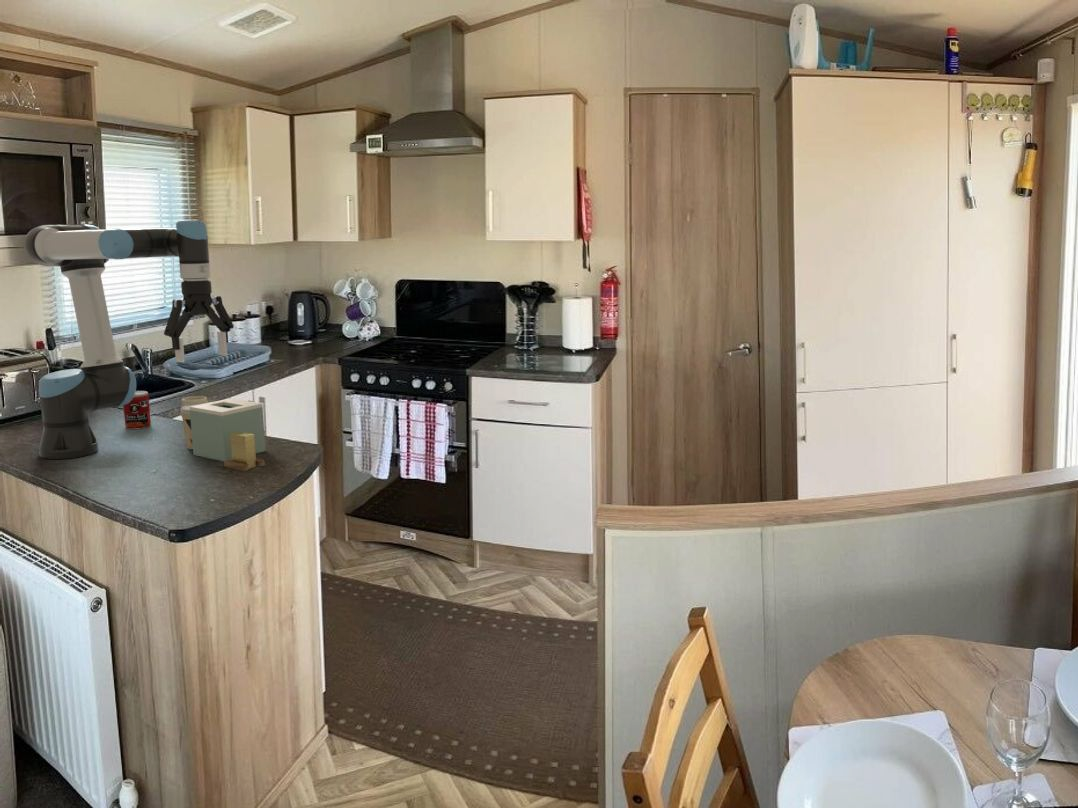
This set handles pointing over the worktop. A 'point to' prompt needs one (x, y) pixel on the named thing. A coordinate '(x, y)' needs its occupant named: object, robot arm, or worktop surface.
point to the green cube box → (225, 426)
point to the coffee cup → (187, 425)
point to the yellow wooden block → (243, 448)
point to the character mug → (193, 401)
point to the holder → (242, 464)
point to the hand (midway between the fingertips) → (202, 358)
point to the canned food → (137, 411)
